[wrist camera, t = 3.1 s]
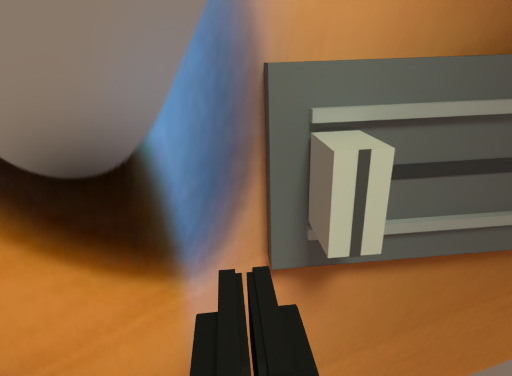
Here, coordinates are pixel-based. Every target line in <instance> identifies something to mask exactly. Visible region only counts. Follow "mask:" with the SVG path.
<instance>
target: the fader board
mask: <svg viewBox="0 0 512 376" xmlns="http://www.w3.org/2000/svg"><path fill="white" fill-rule="evenodd" d="M264 80H265V127H266V173H267V219H268V255H269V260H270V264H271V269H272V270H274V269H286V268H298V267H311V266H323V265H335V264H347V263H359V262H371V261H383V260H395V259H407V258H419V257H432V256H444V255H456V254H468V253H480V252H492V251H504V250H512V54H504V55H476V56H448V57H420V58H392V59H364V60H336V61H308V62H280V63H264ZM353 130H360V131H362V132H364V133H366V134H368V135H370V136H372V137H374V138H376V139H378V140H380V141H382V142H384V143H386V144H388V145H390V146H392V147H394V148H395V152H394V160H393V167H392V175H391V182H390V190H389V198H388V205H387V213H386V220H385V228H384V235H383V243H382V250H381V254H373V255H361V256H360V257H349V256H348V257H335V258H328V257H327V255H326V253H325V252H324V250H323V248H322V246H321V244H320V242H319V240H318V238H317V236H316V234H315V233H314V231H313V229H312V227H311V225H310V223H309V221H308V218H309V186H310V155H311V133H314V132H334V131H353Z"/></svg>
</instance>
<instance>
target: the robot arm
mask: <svg viewBox="0 0 512 376" xmlns="http://www.w3.org/2000/svg"><path fill="white" fill-rule="evenodd" d="M252 271H253V272H247V290H248V309H249V328H250V343H251V353H252V363H253V372H254V376H319V373H318V370H317V367H316V364H315V361H314V358H313V354H312V351H311V348H310V345H309V342H308V339H307V336H306V332H305V329H304V326H303V323H302V320H301V317H300V313H299V310H298V308H297V305H296V304H293V305H283V306H278V303H277V299H276V295H275V291H274V286H273V282H272V278H271V274H270V270H269V266H263V267H253V268H252ZM190 376H251V368H250V357H249V347H248V336H247V326H246V315H245V304H244V294H243V283H242V273H235V269H229V270H219V283H218V312H212V313H202V314H197V315H196V322H195V331H194V340H193V350H192V359H191V369H190Z"/></svg>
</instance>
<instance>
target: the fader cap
mask: <svg viewBox="0 0 512 376" xmlns="http://www.w3.org/2000/svg"><path fill="white" fill-rule="evenodd" d="M394 152H395V148H394V147H392V146H390V145H388V144H386V143H384V142H382V141H380V140H378V139H376V138H374V137H372V136H370V135H368V134H366V133H364V132H362V131H360V130H353V131H334V132H314V133H311V155H310V186H309V218H308V221H309V223H310V225H311V227H312V229H313V231H314V233H315V234H316V236H317V238H318V240H319V242H320V244H321V246H322V248H323V250H324V252H325V253H326V255H327V257H328V258H335V257H348V256H349V257H360V256H361V255H373V254H381V250H382V243H383V235H384V228H385V220H386V213H387V205H388V198H389V190H390V182H391V175H392V167H393V160H394Z"/></svg>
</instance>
